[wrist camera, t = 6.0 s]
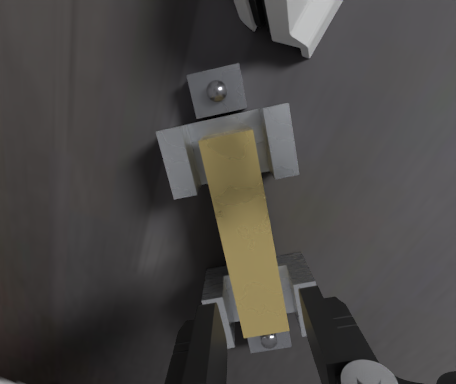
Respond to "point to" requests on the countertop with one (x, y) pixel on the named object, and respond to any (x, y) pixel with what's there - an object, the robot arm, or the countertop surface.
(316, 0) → the white rounded housing
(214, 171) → the link bar
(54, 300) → the countertop surface
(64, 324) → the countertop surface
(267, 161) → the linkage with metal pins
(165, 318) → the countertop surface
